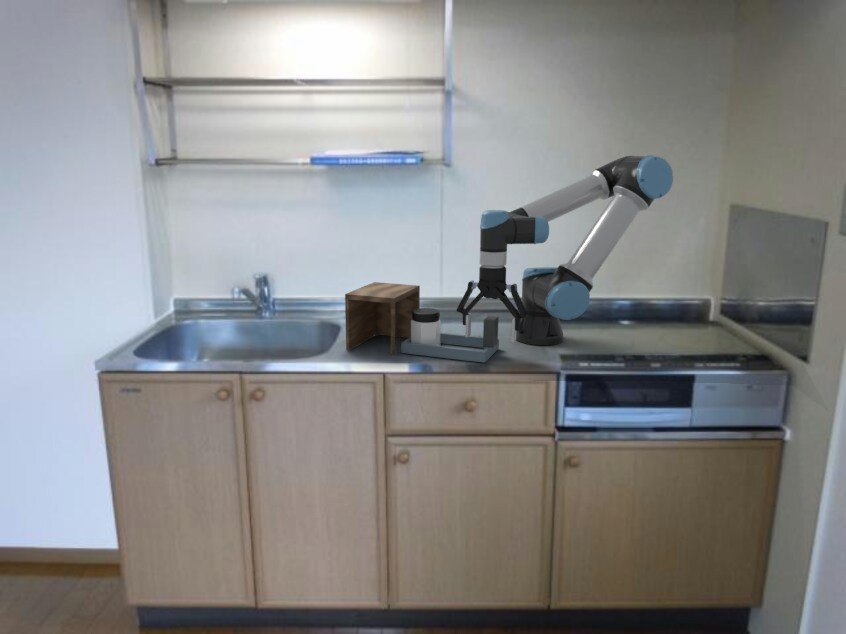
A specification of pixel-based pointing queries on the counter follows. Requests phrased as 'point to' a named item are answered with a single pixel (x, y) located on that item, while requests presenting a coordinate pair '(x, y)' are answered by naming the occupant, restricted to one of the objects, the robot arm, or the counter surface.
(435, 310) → the jar
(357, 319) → the open box
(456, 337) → the tray
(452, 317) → the counter surface
